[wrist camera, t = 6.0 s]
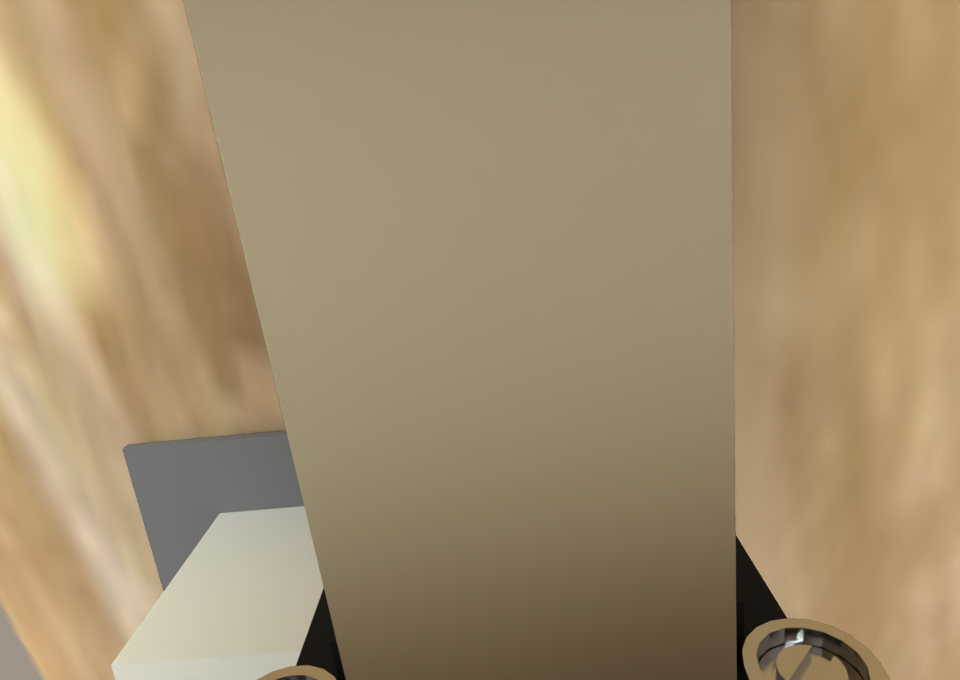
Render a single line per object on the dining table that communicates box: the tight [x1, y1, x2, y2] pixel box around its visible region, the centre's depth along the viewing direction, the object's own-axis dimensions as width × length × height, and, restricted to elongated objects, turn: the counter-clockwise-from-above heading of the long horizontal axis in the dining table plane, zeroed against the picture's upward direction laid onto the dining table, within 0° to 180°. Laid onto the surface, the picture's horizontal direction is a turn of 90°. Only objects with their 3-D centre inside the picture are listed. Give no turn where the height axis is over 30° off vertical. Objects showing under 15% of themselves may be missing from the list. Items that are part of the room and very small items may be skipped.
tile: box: [111, 506, 324, 680], centre depth 28 cm, size 2×8×10 cm, turn 96°
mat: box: [123, 430, 304, 591], centre depth 35 cm, size 18×16×1 cm
